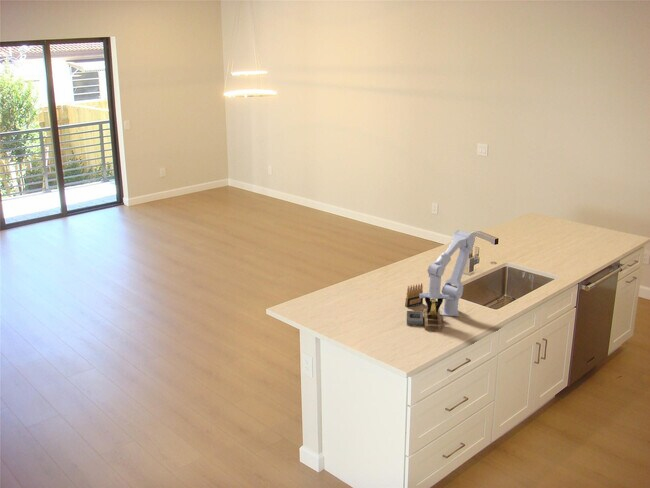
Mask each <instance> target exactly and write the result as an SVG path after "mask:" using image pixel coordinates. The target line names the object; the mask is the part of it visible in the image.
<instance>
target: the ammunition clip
mask: <svg viewBox="0 0 650 488" xmlns="http://www.w3.org/2000/svg"><path fill="white" fill-rule="evenodd" d="M423 288H424V287H423V283H418V284H413V286H412V285H410V286H409V285H408V286H407V291H406V297H405V303H404V304H405V305H404V307H405V308H411V307H416V306H419V305H423V303H424V298H420V297H419V296H420V293H424V292H423Z"/></svg>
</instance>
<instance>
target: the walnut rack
mask: <svg viewBox="0 0 650 488" xmlns="http://www.w3.org/2000/svg"><path fill="white" fill-rule="evenodd" d="M428 313H429V312H428V307H427V308H426V307H425V308H423V324H424V330H425V331H437V332H438V331H439V332H441V331H442V320H441V310H440V309H439V310H438V313H437V312H436V319H430V318H429V314H428Z"/></svg>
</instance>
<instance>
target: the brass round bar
mask: <svg viewBox="0 0 650 488" xmlns="http://www.w3.org/2000/svg"><path fill="white" fill-rule="evenodd" d="M436 312H437V299H435V300H431V301H430V312H429V318H430V319H436Z"/></svg>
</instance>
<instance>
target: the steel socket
mask: <svg viewBox="0 0 650 488" xmlns="http://www.w3.org/2000/svg"><path fill="white" fill-rule="evenodd" d="M423 324H424V312H423V311H416V310H407V311H406V326H418V327H419V326H420V327H422V326H424V325H423Z"/></svg>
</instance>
